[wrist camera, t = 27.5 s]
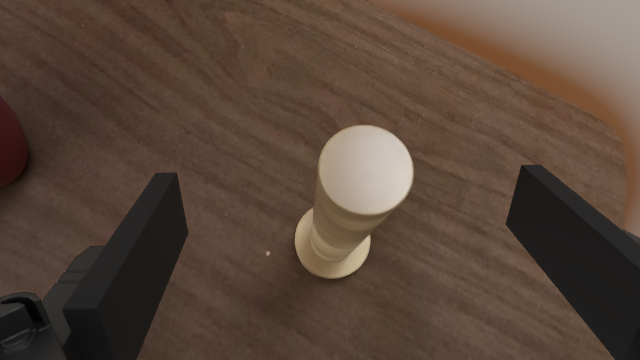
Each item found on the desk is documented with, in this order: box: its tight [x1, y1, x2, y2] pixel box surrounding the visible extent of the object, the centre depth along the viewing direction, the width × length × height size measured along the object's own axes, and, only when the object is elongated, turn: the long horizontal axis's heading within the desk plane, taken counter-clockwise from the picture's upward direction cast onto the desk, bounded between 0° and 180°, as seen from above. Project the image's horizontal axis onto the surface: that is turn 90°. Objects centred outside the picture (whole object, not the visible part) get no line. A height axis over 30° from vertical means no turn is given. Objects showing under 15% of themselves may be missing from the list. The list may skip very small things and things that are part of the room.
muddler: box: [295, 125, 414, 279], centre depth 17 cm, size 4×4×14 cm
